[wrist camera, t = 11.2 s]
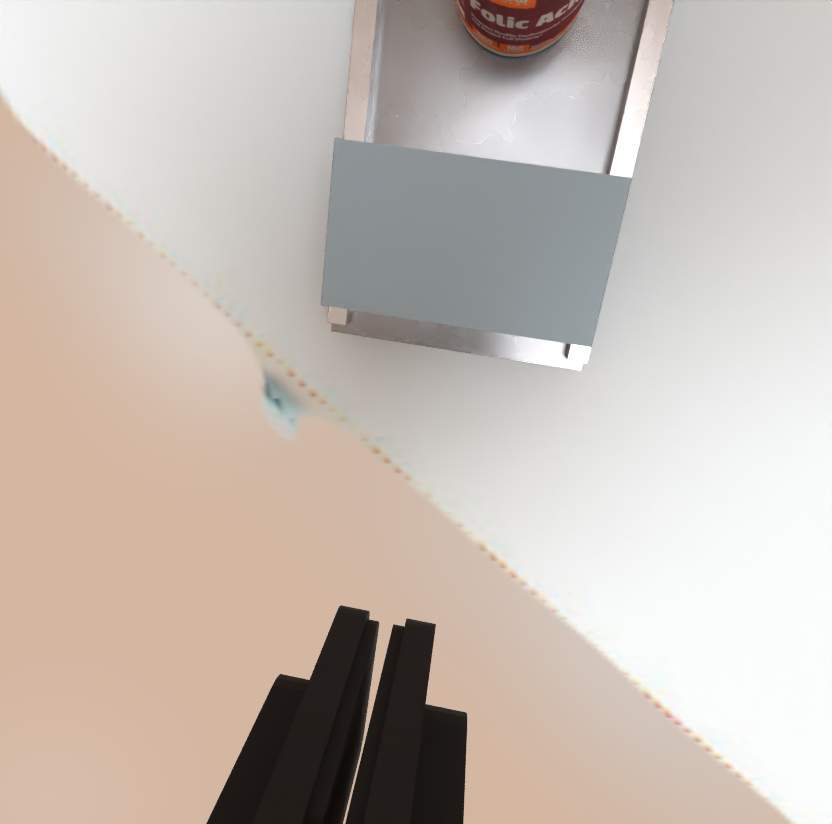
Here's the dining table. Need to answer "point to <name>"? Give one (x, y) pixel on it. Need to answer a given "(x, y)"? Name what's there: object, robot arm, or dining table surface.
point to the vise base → (500, 118)
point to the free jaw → (470, 240)
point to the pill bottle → (518, 23)
